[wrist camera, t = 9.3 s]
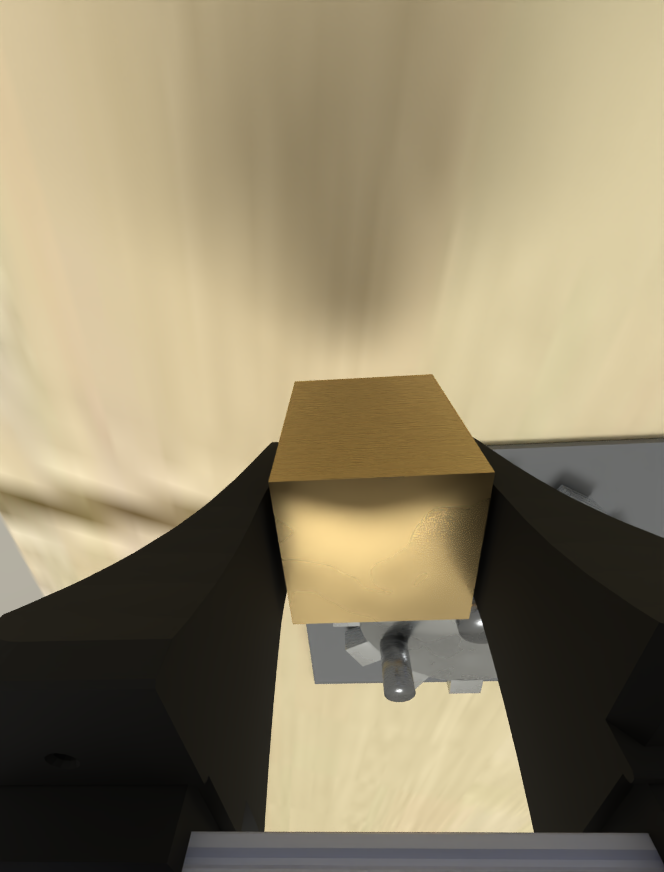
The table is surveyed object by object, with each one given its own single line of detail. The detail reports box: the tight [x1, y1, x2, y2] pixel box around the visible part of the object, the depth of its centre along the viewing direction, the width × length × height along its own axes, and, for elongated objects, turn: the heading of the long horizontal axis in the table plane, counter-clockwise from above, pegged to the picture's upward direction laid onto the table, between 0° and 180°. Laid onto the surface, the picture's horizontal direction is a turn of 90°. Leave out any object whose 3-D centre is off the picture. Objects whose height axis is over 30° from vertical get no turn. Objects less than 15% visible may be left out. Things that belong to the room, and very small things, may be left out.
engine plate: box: [306, 438, 664, 684], centre depth 25 cm, size 22×21×1 cm
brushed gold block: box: [268, 374, 495, 624], centre depth 10 cm, size 4×4×5 cm
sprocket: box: [333, 485, 606, 702], centre depth 22 cm, size 18×18×4 cm
